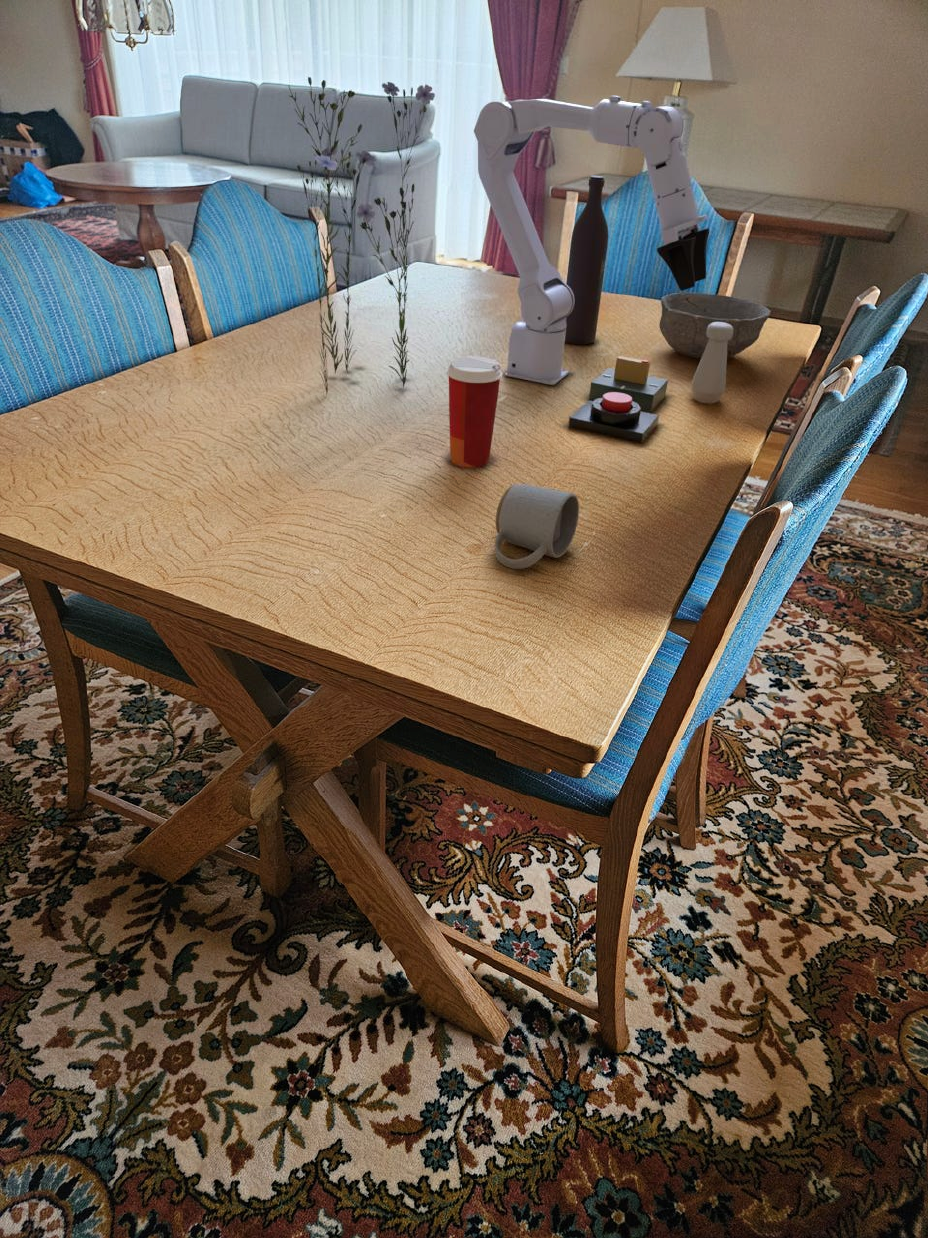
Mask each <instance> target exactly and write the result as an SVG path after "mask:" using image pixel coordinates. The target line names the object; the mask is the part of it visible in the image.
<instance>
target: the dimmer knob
mask: <svg viewBox="0 0 928 1238" xmlns="http://www.w3.org/2000/svg"><path fill="white" fill-rule="evenodd" d="M650 366H651V361H650V359H639V358H633V357H627V356H623V355H622V356H621V355H618V356H617V357H616V359H615V367H614V369H615V373H614V379H618V380H623V381H628V382H633V383H638V384H643V385H645V384H646V383H647V378H648V376H649V373H650V372H649V371H650Z"/></svg>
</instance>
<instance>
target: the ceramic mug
mask: <svg viewBox="0 0 928 1238" xmlns="http://www.w3.org/2000/svg"><path fill="white" fill-rule="evenodd" d="M496 508H497V509H496V512H495V529H496V532H497V535H496V537H495V540H494V543H493V547H494V553H495V556H496V559H497V560H498V562H499V563H500V564H502V565H503V566H505V567H506V568H509V569H513V570H523V569H526V568H530V567H533V565H535V564H536V563H538V562H539V560H541V559H542V558H543V556H546V557H547V556H548V557H550V558H555V559H558V558H561V557H562V556H563V555H565V554H566V552H567V551H568V549H569V548H570V546H571V544H572V542H573V539H574V537H575V535H576V532H577V531H576V530H577V527H578V522H579V517H580V516H579V515H580V502H579V499H578V497H577V495H576V494H575V493H573V492H569V491H562V490H558V489H553V488H547V487H542V486H537V485H532V484H527V483H515V484H511V486H509V487H508V488H506V490H505V491H504V493H503V494H502V495H501V497H500V499H499V501H498V505H497V507H496ZM504 541H506V542H507V543H509V544H512V545H514V546H515V545H516V546H518V547H522V548H524V549H527V550H530V551H533V552H532V553H530V554H529V555H528V556H525V557H521V558H516V559H512V558H508V557H507V556H506V555H505V554H503V553H502V551H501V550H500V549H501V546H502V544H503V542H504Z"/></svg>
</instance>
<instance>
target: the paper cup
mask: <svg viewBox="0 0 928 1238" xmlns="http://www.w3.org/2000/svg"><path fill="white" fill-rule="evenodd" d="M447 366H448V367H447V368H446V369H445V374H446V375H447V376H448V406H449V407H448V419H449V423H448V424H449V454H450V456H449V457H450V461H451V462H452V463H453V464H455V465H457V466H459V467H463V468H481V467H483V466H486V465H487V464H488V463H489V460H490V455H491V449H492V442H493V435H494V427H495V421H496V412H497V405H498V400H499V390H500V382H501V379H502V378H503V375H504V374H503V372H502V370H501V365H500V363H499V362H498V361H497V360H495V359H492V358H489V357H485V356H478V355H466V356H465V355H464V356H460V357H456V358H453V359H452V360H451V361H450V363H448V365H447Z"/></svg>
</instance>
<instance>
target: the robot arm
mask: <svg viewBox="0 0 928 1238" xmlns="http://www.w3.org/2000/svg"><path fill="white" fill-rule="evenodd" d="M547 127H550V128H559V129H567V130H577V131H587V132H589V133H590V135H591V136H592V138H593V139H594V141H595V142H596V143H602V144H607V145H614V146H621V147H627V148H634V149H635V148H638V149H639V150H640V151H642V152H643V154H644V158H645V163H646V167H647V168H646V169H647V173H648V177H649V182H650V186H651V191H652V194H653V195H652V196H653V199H654V204H655V208H656V213H657V216H658V220H659V225H660V236H661V237H662V240H663V245H661V246H659V247H657V248H656V252H657V254H658V255H659V256H660V257H661V258H662V260H663V261H664V262H665V264H666V265H667V267H668V269H669V270H670V272H671V274H672V276H673V278H674V280H675V283H676V285H677V287H678V289H679V290H680V291H681V292H683V291H686V290H688V289H692V288H695V286H696V282H700V281H702V280H706V278H707V245H708V239H709V237H710V227H705V228H702V229H701V228H700V223H702V222H704V221H707V220H708V215H707V214H704V215H700V216H699V212H698V208H697V203H696V198H695V193H694V187H693V184H692V179H691V174H690V169H689V164H688V159H687V155H686V153H685V149H684V144H683V140H682V136H683V133H684V119H683V116H682V114H681V113H680V112H679V110H677V109H676V108H675V107H672V106H669V105H668V104H662V105H658V106H656V107H652V102H651V101H650V100H643V101H641V103H638V102H629V101H624V100H623V101H622V97H621V96H620V95H610V96H609V99H608V98H604V99H602V100H601V101H599V102H598V103H597V104H596V105H595V106H594V107H593V106H586V105H581V104H577V103H576V104H575V103H569V102H564V101H559V100H553V99H549V98H548V99H547V98H535V99H515V100H509V101H500V100H499V101H498V100H495V101H490V102H488V103H487V104H485V105H484V106H483V107H482V108H481V110H480V111H479V115H478V117H477V120H476V123H475V125H474V128H473V134H474V136H475V138H476V141H477V173H478V177H479V179H480V182H481V184H482V187H483V190H484V193H485V194H486V196H487V200H488V202H489V204H490V206H491V209H492V211H493V214H494V216H495V219H496V221H497V224H498V227H499V229H500V231H501V233H502V236H503V238H504V241H505V243H506V246H507V248H508V251H509V253H510V256H511V258H512V261H513V263H514V265H515V268H516V270H517V273H518V275H519V282H518V287H517V295H518V297H519V301H520V315H521V318H522V320H523V321H517V322H515V323H514V326H513V327H512V329H511V332H510V336H509V342H508V353H507V354H508V355H507V367H506V372H505V376H506V377H511V378H515V379H520V380H524V381H530V382H535V383H539V384H544V385H548V386H555V385H556V384H558V383H559V382H560V381H561V380H562V379H564V378H565V377H566V376H568V375H569V373H570V372H569V370H566V369H563V360H564V351H565V343H566V342H565V334H566V326H567V324H566V317H567V316H568V315H569V314H570V313H571V312H572V310H573V307H574V302H575V299H574V294H573V292H572V290H571V288H570V287H569V286H568V285H567V284H566V283H567V282H565V281H564V280H563V277H562V275H561V273H560V271H558V270H557V268H555V267H554V266H553V265H552V264H551V263H550V261H549V259H548V257H547V254H546V251H545V249H544V247H543V244H542V242H541V239H540V236H539V234H538V231H537V228H536V226H535V224H534V221H533V218H532V216H531V213H530V211H529V209H528V205H527V204H526V200H525V198H524V196H523V193H522V190H521V187H520V185H519V183H518V180H517V178H516V176H515V172H514V170H515V167H516V165H517V162H518V159H519V157H520V154H521V153H522V152H523V150H525V148H526V147H527V145H528V143H529V142H530V141H531V140H532V138H533V137H534V135H535V133H536V132H541V131H542V130H544V129H545V128H547Z"/></svg>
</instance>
